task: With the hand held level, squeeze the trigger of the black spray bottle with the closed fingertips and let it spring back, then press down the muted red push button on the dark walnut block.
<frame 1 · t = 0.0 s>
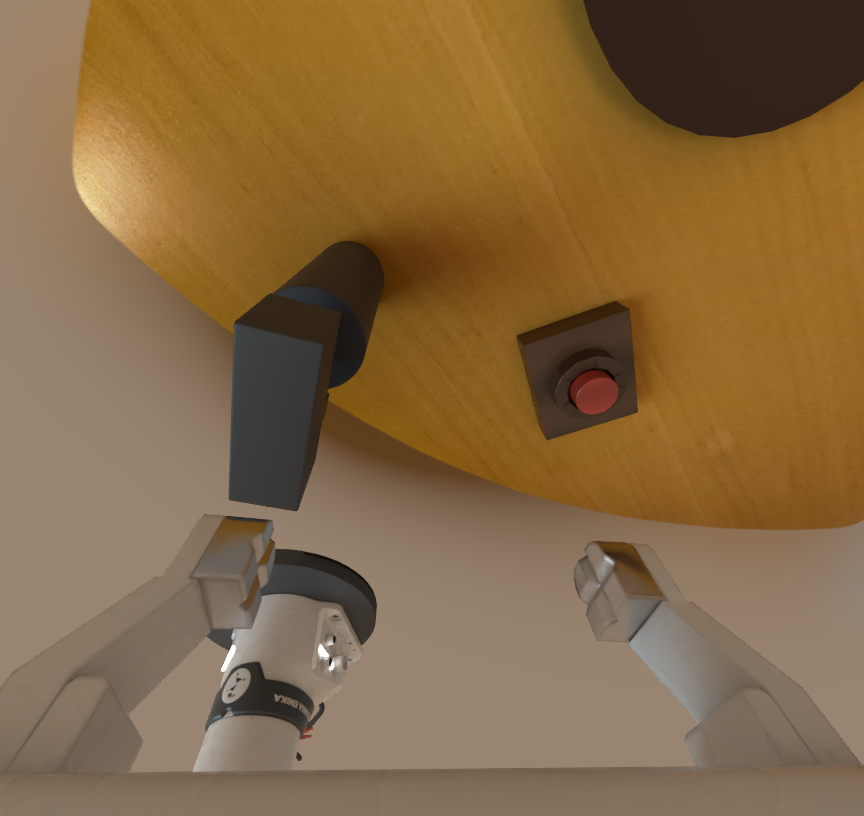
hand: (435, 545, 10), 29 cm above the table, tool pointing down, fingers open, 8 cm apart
spray bottle: (350, 276, 34), on the table
button block: (574, 369, 40), on the table
button: (593, 392, 36), point 5 cm above the table, slide at 0.1 cm
trigger: (300, 419, 24), point 16 cm above the table, slide at 0.0 cm
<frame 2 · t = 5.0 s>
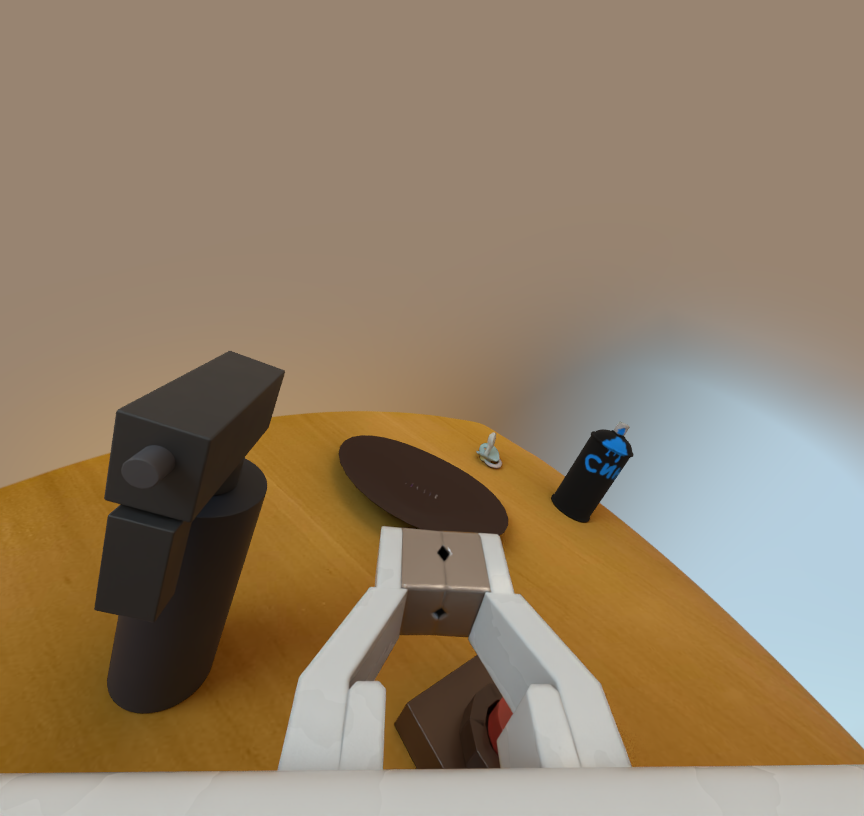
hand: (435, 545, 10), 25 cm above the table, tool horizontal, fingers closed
spray bottle: (164, 664, 26), on the table
button block: (487, 770, 28), on the table
plate: (419, 491, 59), on the table
button: (518, 731, 27), point 5 cm above the table, slide at 0.1 cm
pacifier: (487, 461, 81), on the table
aerosol can: (569, 509, 76), on the table
trigger: (145, 558, 16), point 16 cm above the table, slide at 0.0 cm
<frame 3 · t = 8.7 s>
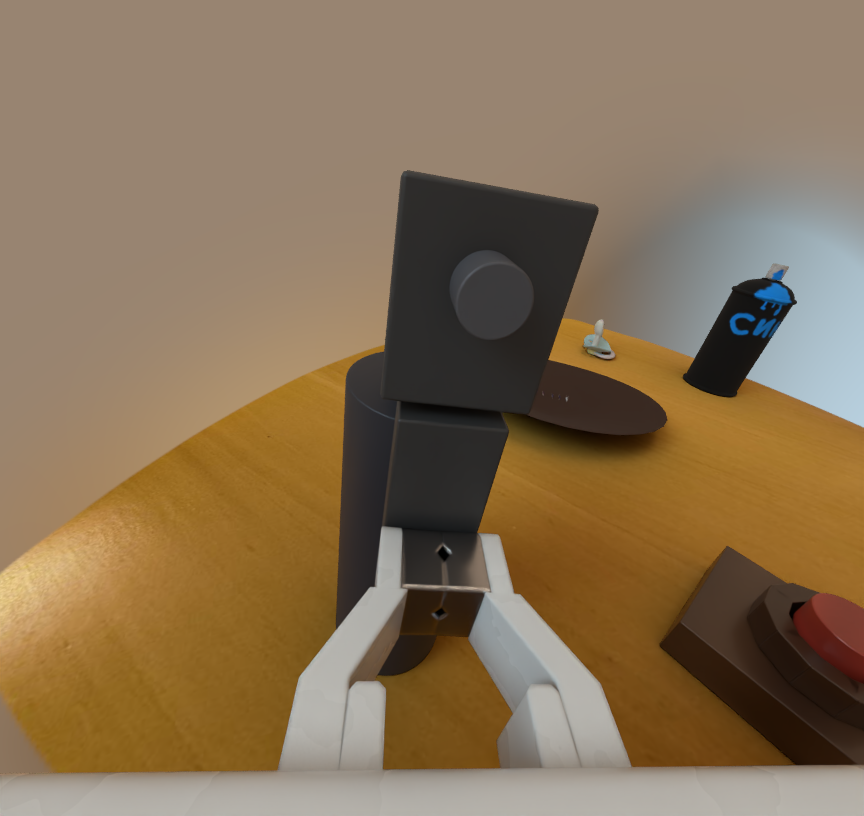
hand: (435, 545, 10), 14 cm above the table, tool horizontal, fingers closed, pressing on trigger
spray bottle: (387, 619, 22), on the table
button block: (789, 680, 23), on the table
plate: (546, 397, 52), on the table
button: (847, 636, 20), point 5 cm above the table, slide at 0.1 cm
pacifier: (597, 354, 70), on the table
aerosol can: (708, 386, 65), on the table
trigger: (433, 490, 10), point 16 cm above the table, slide at -0.1 cm, touching gripper
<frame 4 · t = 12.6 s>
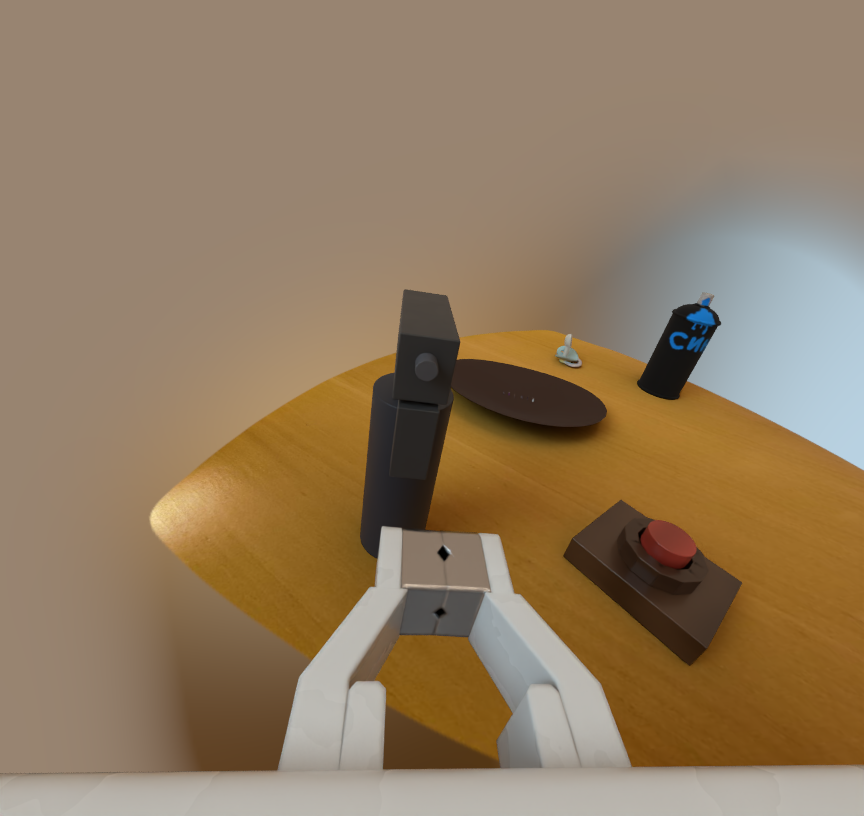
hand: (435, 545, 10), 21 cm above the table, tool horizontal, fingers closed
spray bottle: (391, 534, 36), on the table
button block: (643, 577, 36), on the table
plate: (517, 398, 65), on the table
button: (667, 543, 34), point 5 cm above the table, slide at 0.1 cm
pacifier: (567, 362, 84), on the table
aerosol can: (656, 390, 78), on the table
trigger: (413, 438, 23), point 16 cm above the table, slide at 0.0 cm
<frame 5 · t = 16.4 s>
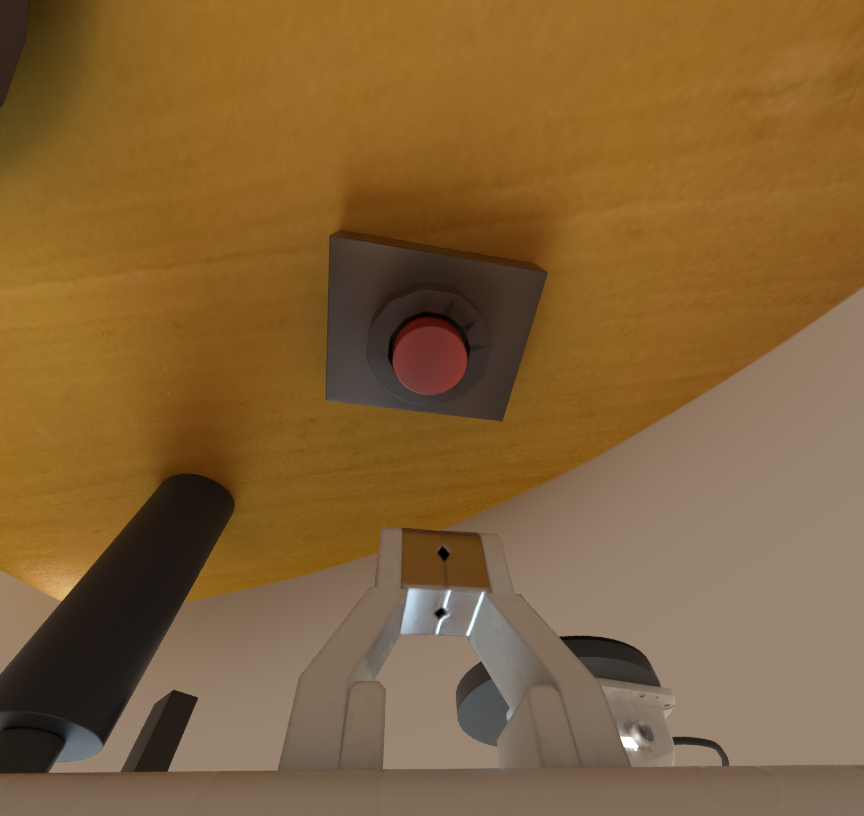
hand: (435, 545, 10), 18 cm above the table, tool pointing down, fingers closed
spray bottle: (197, 501, 32), on the table
button block: (426, 327, 25), on the table
button: (429, 356, 21), point 5 cm above the table, slide at 0.1 cm
trigger: (151, 755, 21), point 16 cm above the table, slide at 0.0 cm
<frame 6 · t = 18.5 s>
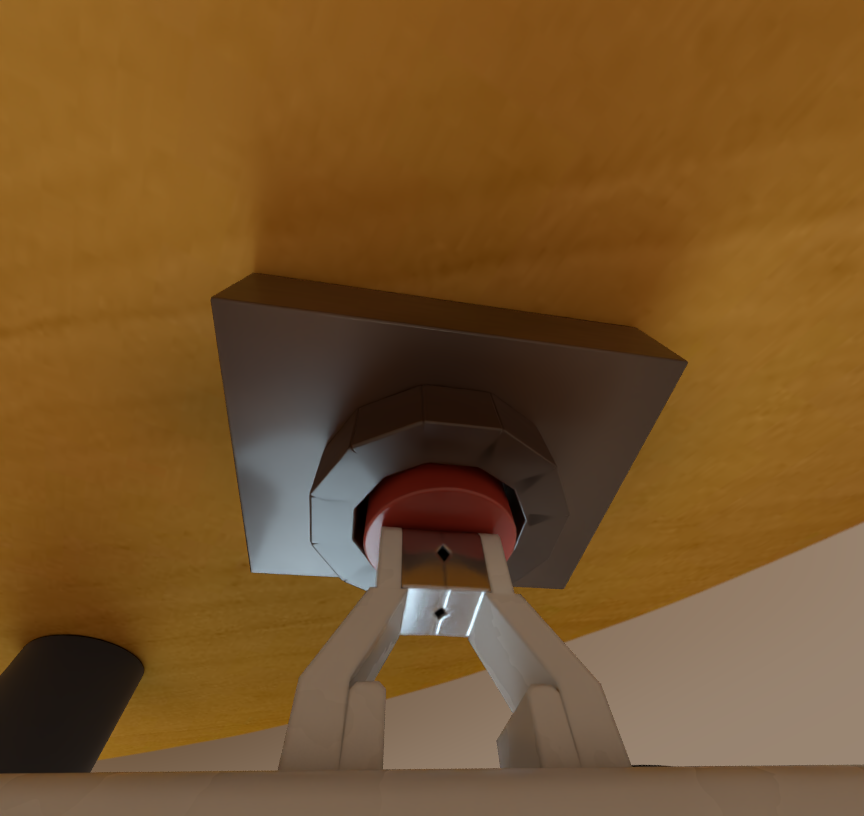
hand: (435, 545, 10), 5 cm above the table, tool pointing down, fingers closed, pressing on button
spray bottle: (85, 663, 21), on the table
button block: (431, 434, 14), on the table
button: (438, 520, 10), point 4 cm above the table, slide at -0.7 cm, touching gripper
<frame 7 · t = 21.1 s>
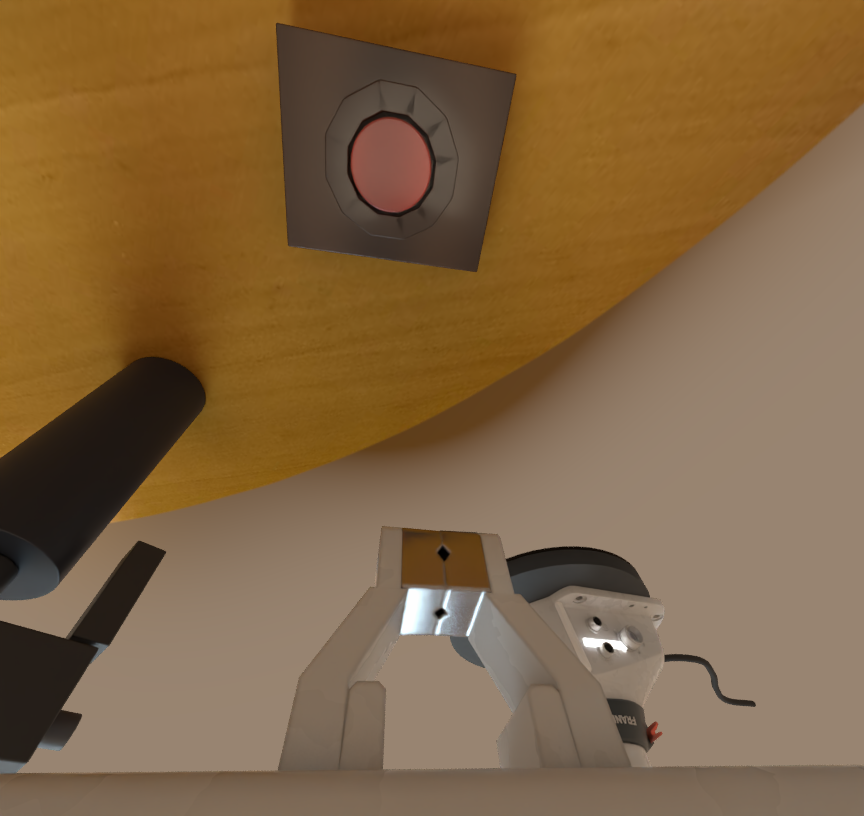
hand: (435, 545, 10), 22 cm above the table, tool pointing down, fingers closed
spray bottle: (165, 390, 31), on the table
button block: (393, 167, 24), on the table
button: (391, 167, 19), point 5 cm above the table, slide at 0.1 cm
trigger: (115, 598, 20), point 16 cm above the table, slide at 0.0 cm
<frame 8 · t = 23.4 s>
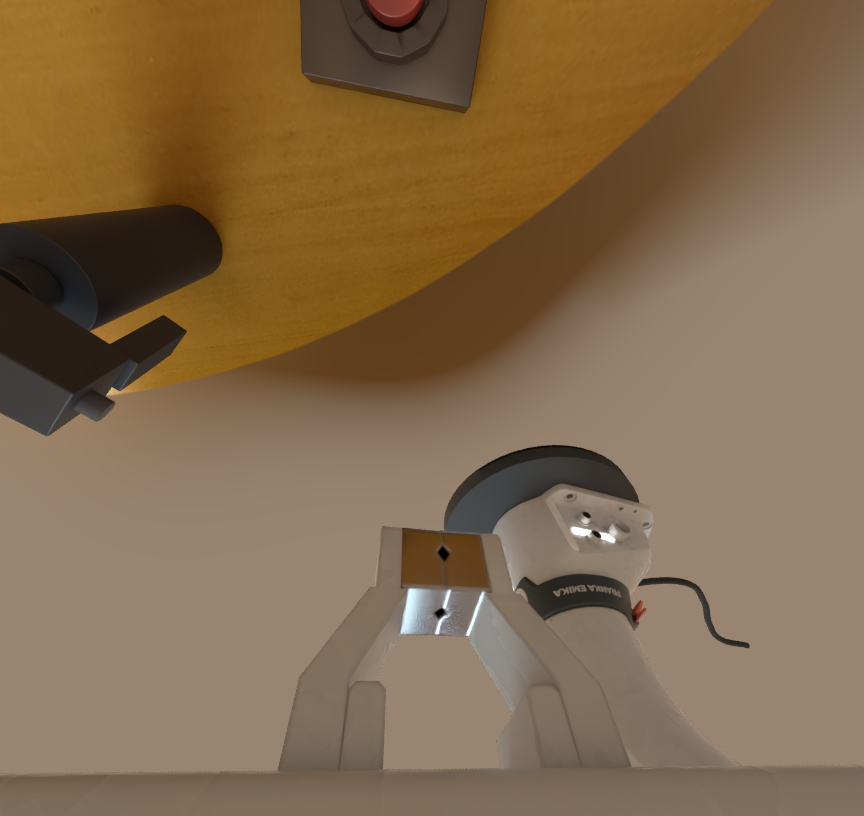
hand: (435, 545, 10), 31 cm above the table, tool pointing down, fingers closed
spray bottle: (186, 242, 34), on the table
button block: (396, 8, 27), on the table
trigger: (143, 350, 23), point 16 cm above the table, slide at 0.0 cm
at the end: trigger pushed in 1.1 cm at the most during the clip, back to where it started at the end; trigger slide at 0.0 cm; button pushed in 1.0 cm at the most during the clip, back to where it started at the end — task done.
